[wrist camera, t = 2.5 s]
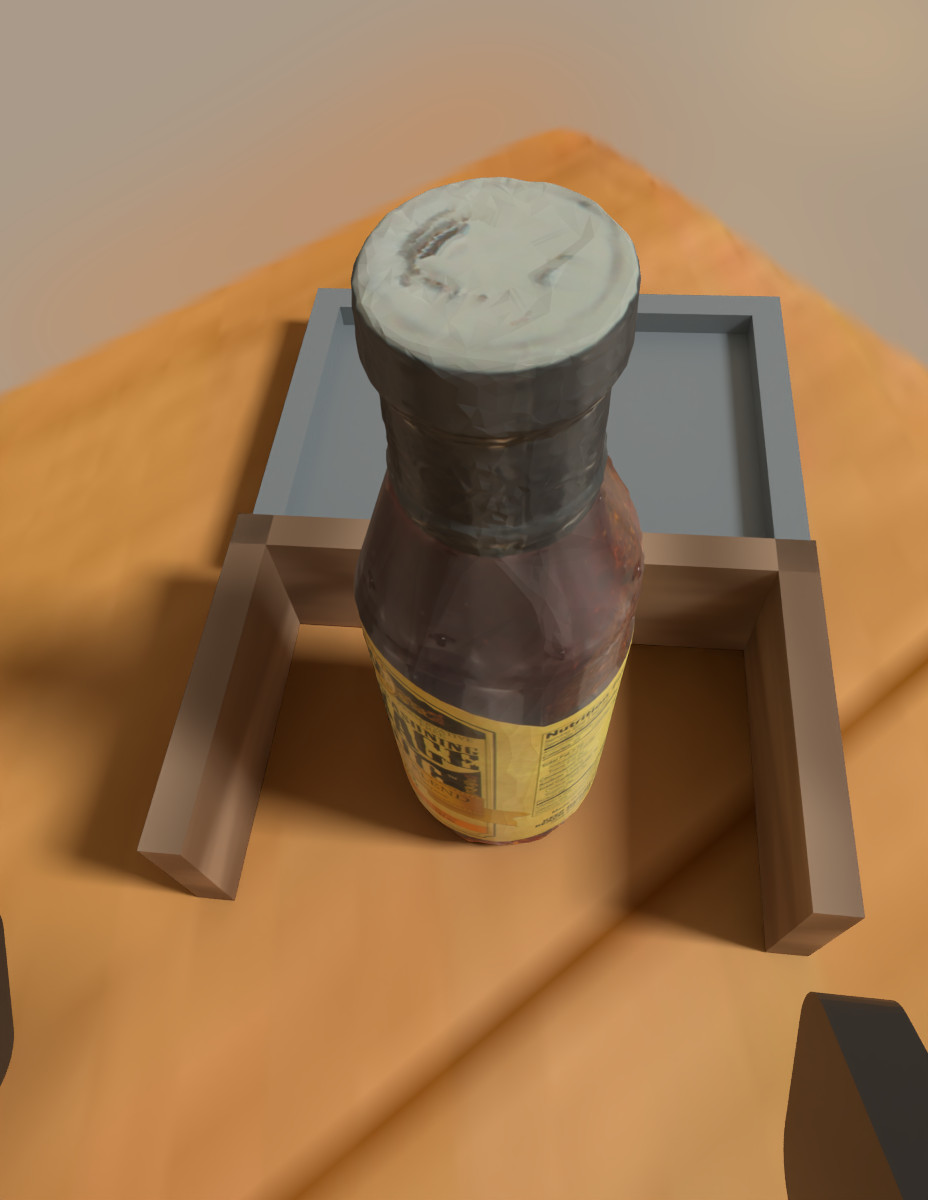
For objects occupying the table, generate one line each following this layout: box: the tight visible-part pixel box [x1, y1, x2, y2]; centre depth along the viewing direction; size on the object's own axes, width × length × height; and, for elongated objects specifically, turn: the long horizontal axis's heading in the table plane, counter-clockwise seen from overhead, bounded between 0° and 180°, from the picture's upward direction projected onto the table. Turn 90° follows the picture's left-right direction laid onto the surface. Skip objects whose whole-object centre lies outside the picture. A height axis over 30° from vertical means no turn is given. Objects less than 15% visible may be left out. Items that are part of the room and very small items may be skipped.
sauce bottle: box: [351, 177, 645, 845], centre depth 20 cm, size 6×6×20 cm
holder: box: [137, 513, 865, 956], centre depth 27 cm, size 18×11×5 cm, turn 84°
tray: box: [253, 288, 810, 540], centre depth 35 cm, size 20×14×2 cm
